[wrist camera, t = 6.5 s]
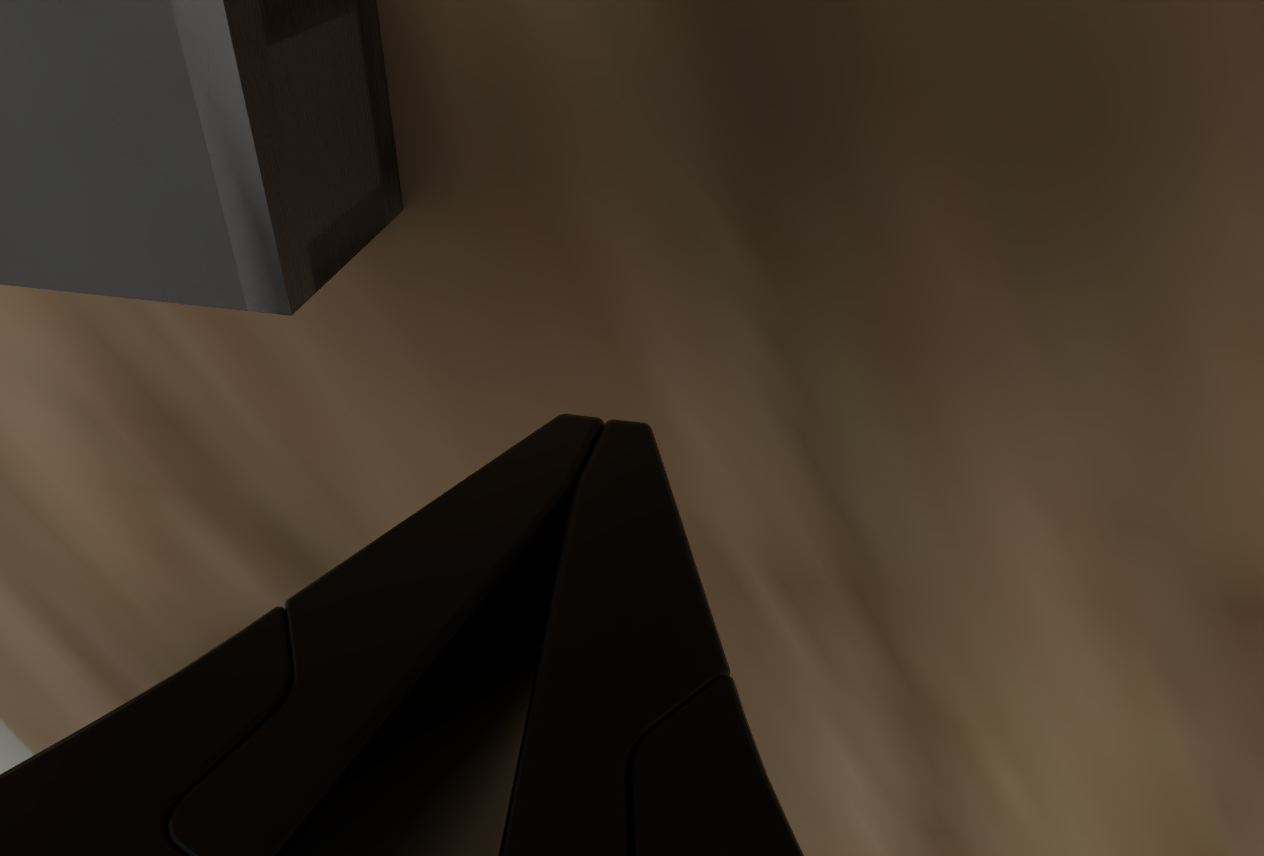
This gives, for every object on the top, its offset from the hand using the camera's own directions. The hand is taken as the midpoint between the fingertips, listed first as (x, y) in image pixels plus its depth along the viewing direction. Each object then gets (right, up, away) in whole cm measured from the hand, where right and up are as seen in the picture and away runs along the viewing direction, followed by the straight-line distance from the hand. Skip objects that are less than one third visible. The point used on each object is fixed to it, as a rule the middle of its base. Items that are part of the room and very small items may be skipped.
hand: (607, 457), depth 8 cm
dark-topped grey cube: (-8, +7, +10) cm, 14 cm away
